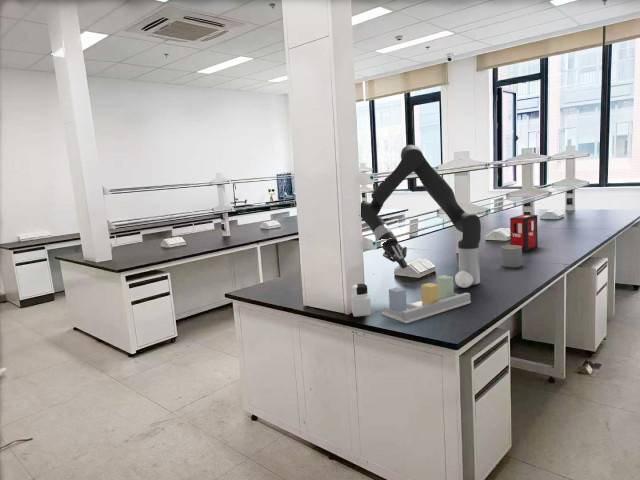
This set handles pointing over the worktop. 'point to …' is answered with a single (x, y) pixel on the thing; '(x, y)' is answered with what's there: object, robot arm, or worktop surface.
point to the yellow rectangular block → (429, 293)
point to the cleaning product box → (524, 231)
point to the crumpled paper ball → (463, 279)
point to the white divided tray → (427, 308)
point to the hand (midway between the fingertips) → (405, 267)
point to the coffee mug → (511, 256)
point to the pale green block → (445, 286)
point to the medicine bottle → (360, 300)
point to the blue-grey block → (397, 299)
